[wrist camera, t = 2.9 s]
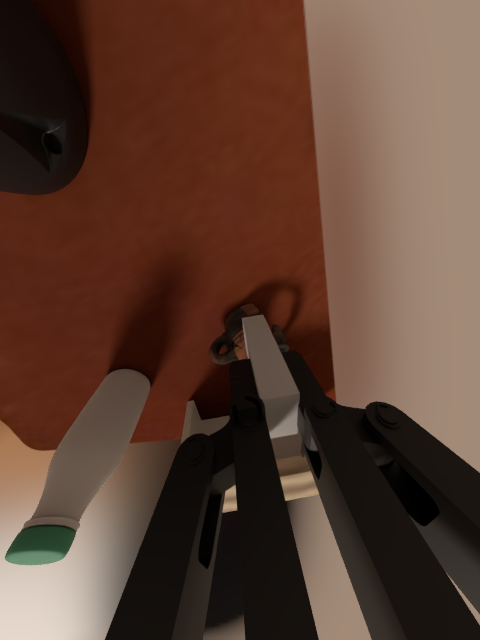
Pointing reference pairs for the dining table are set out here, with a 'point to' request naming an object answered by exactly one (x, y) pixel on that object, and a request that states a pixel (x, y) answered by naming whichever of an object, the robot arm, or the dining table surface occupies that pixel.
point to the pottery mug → (240, 337)
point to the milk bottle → (82, 467)
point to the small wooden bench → (286, 453)
